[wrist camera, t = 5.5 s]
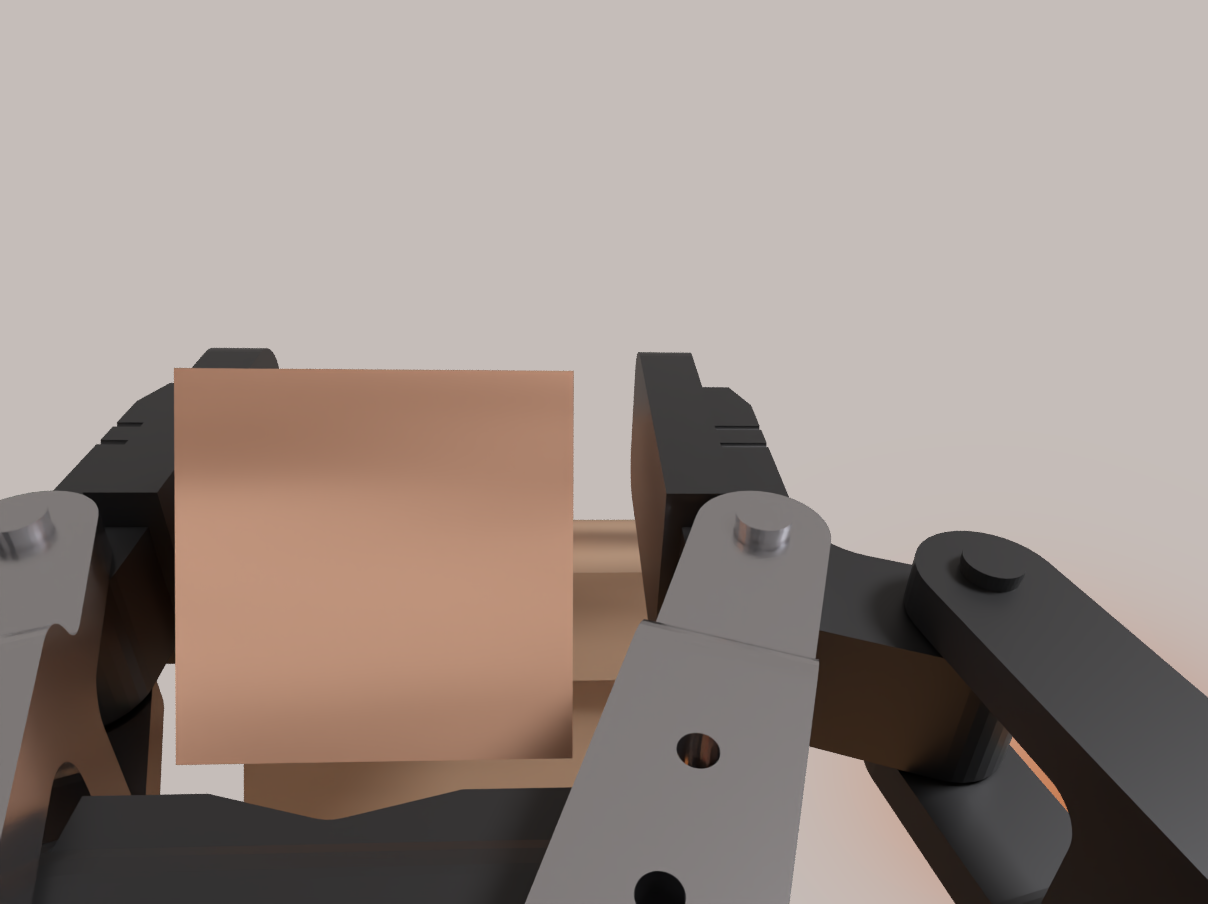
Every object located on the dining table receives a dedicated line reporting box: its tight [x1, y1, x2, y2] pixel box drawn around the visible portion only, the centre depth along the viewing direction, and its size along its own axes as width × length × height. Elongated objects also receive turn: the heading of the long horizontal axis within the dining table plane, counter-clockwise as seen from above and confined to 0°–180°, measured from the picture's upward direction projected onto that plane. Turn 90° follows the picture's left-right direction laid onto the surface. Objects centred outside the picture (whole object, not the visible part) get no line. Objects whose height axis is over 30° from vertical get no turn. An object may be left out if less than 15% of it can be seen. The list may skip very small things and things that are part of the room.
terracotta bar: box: [174, 368, 574, 765], centre depth 17 cm, size 22×3×3 cm, turn 3°
